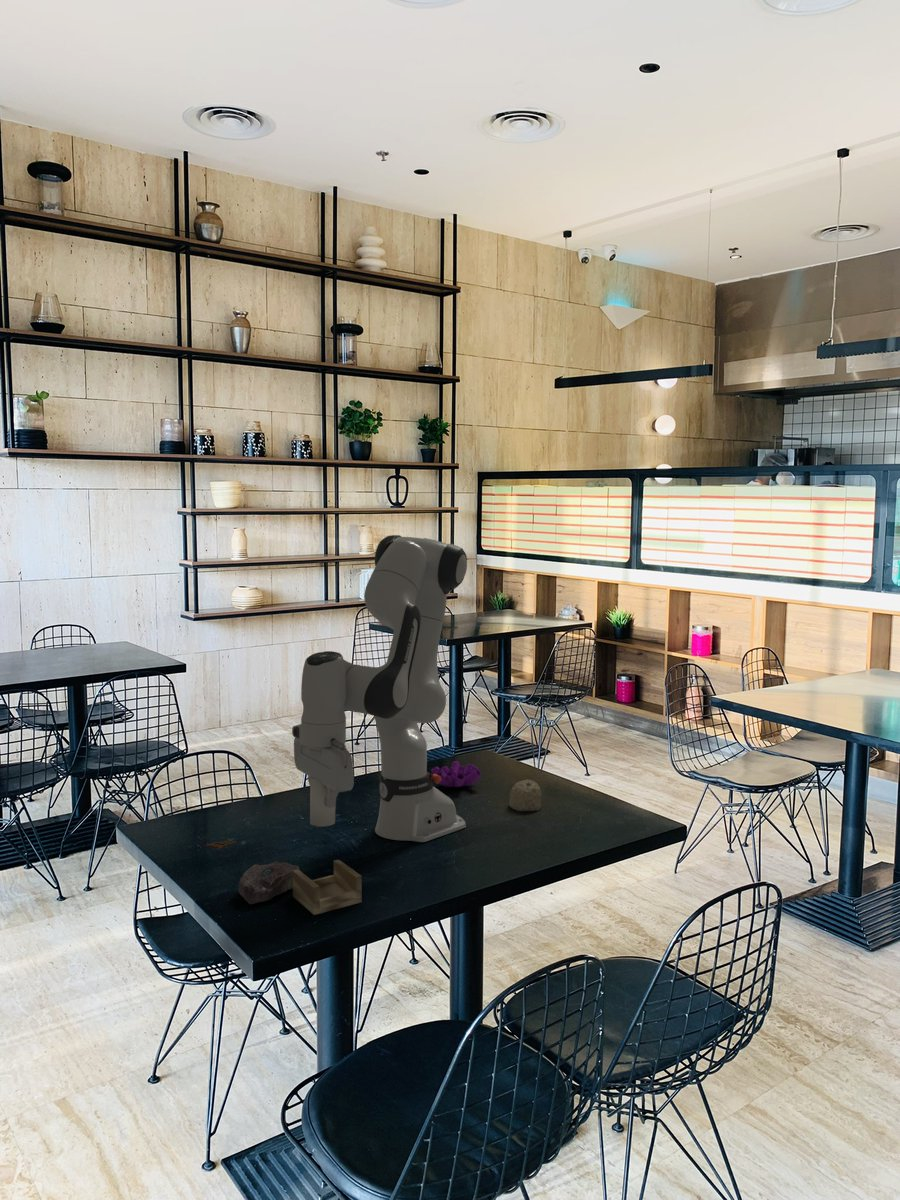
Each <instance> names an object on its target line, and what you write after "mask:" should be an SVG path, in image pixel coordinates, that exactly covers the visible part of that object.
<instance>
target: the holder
mask: <svg viewBox="0 0 900 1200" xmlns="http://www.w3.org/2000/svg"><path fill="white" fill-rule="evenodd" d="M299 870H300V869H299ZM299 870H298V869H297V870H293V871H292V873H293V888H292V897H293V898H294V899H295V900H296V901H297V902H298V903H300V904H301V905H302V906H303V907H304V908H305V909H306V910H307V911H309V912H310V913H311V914H312V915H313V916H316V915H319V914H320V915H321V914H323V913H326V912H330V911H334V910H338V909H341V908H345V907H349V906H352V905H356V904H360V903H363V901H362V900H363V899H362V898H363V897H362V895H363V894H362V892H363V891H362V875H361V874H359V873H358V872H356V871H355V870H354V869H353V868H351V867H350V866H349V865H347V864H346V863H344V861H341V860H340V859H334V860H333V874H332V875H331V874H330V875H327V876H324V877H319V878H316V879H315V878H314V879H311V878H310V877H308V876H307V875H306V874H304V873H303V872H302V871H301V870H300V871H299Z"/></svg>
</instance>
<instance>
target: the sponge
mask: <svg viewBox="0 0 900 1200" xmlns="http://www.w3.org/2000/svg"><path fill="white" fill-rule="evenodd" d="M508 806H509V807H510V808H511V809H513V810H515V811H519V812H535V811H539V810H541V808H542V791H541V787H540V786H539V784H538V783H537V782H535V780H531V779H524V780H520V781H518V782H516V783H515V784H514V785H513V786H512V788H511V791H510V794H509V801H508Z"/></svg>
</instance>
